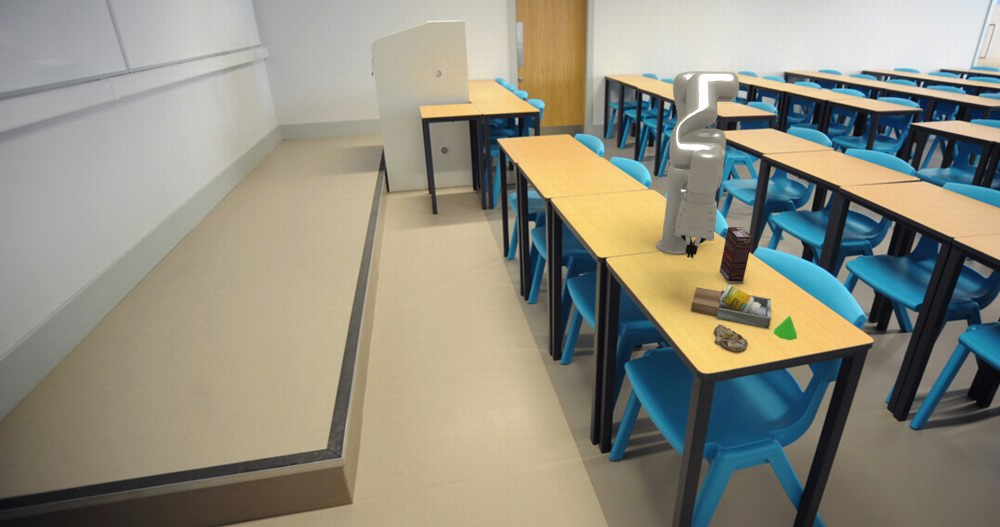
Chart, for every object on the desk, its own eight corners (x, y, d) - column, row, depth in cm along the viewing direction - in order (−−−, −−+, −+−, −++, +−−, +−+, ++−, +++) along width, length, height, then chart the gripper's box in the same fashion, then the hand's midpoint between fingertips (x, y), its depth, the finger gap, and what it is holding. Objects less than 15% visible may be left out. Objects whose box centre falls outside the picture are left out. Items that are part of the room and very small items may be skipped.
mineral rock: (758, 344, 130) (731, 339, 128) (751, 358, 131) (724, 354, 130) (734, 322, 140) (708, 318, 138) (728, 336, 141) (702, 332, 139)
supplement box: (743, 284, 163) (753, 237, 156) (727, 284, 163) (737, 237, 156) (733, 271, 171) (742, 226, 164) (718, 271, 171) (727, 226, 164)
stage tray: (695, 294, 157) (696, 285, 156) (768, 307, 150) (770, 298, 148) (690, 313, 148) (691, 304, 146) (768, 328, 140) (770, 319, 139)
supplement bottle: (723, 292, 150) (755, 310, 147) (716, 303, 147) (749, 322, 144) (731, 280, 146) (764, 299, 143) (725, 291, 143) (758, 310, 140)
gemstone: (779, 326, 141) (783, 306, 139) (802, 335, 137) (807, 315, 135) (768, 334, 138) (773, 314, 135) (791, 343, 134) (797, 323, 131)
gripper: (669, 197, 142) (661, 257, 151) (728, 204, 136) (716, 266, 145) (674, 188, 148) (666, 246, 157) (730, 195, 142) (719, 255, 151)
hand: (690, 255), depth 151 cm, fingers closed
